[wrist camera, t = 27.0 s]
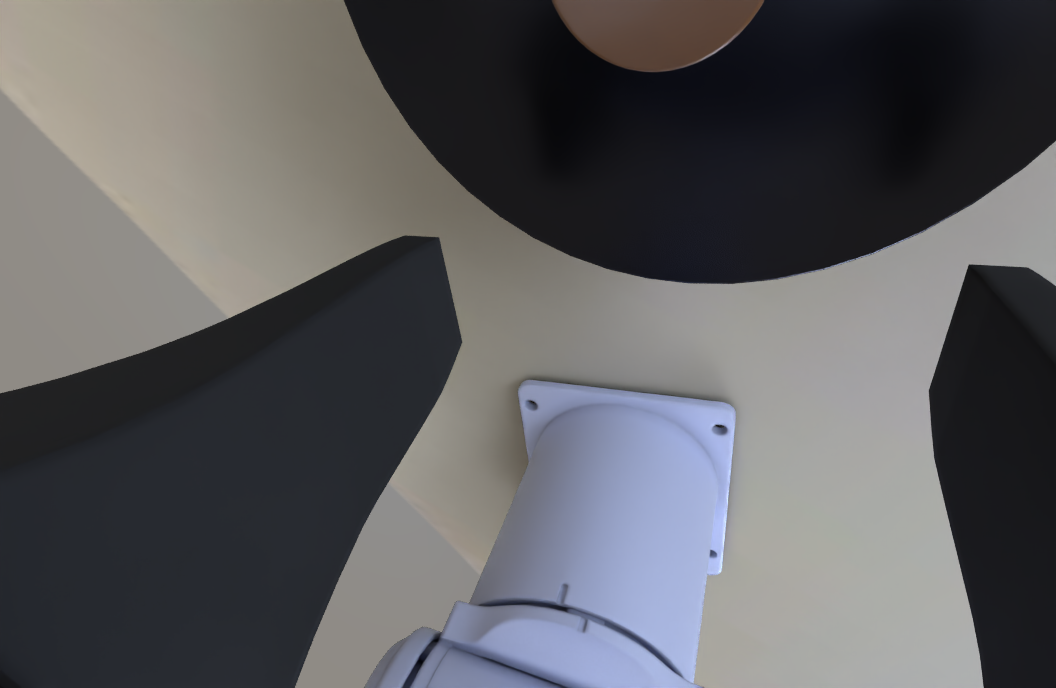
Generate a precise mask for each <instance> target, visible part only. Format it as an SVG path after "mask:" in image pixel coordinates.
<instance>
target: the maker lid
mask: <svg viewBox="0 0 1056 688" xmlns="http://www.w3.org/2000/svg"><path fill="white" fill-rule="evenodd" d="M344 2H345V5H346V7H347V9H348V12H349V14H350V17H351V19H352V22H353V24H354V27H355V29H356V32H357V34H358V37H359V39H360V42H361V44H362V46H363V48H364V50H365V52H366V54H367V56H368V58H369V60H370V62H371V64H372V66H373V67H374V69H375V71H376V73H377V75H378V77H379V79H380V81H381V83H382V85H383V86H384V88H385V90H386V92H387V93H388V95H389V96H390V98H391V99H392V101H393V102H394V104H395V105H396V107H397V108H398V110H399V111H400V113H401V114H402V116H403V117H404V119H405V120H406V122H407V123H408V125H409V126H410V128H411V129H412V130H413V132H414V133H415V134H416V135H417V136H418V138H419V139H420V140H421V141H422V143H423V144H424V145H425V146H426V147H427V149H428V150H429V151H430V152H431V154H432V155H433V156H434V157H435V158H436V160H437V161H438V162H439V163H440V164H441V165H442V166H443V167H444V168H445V169H446V170H447V171H448V172H449V173H450V174H451V175H452V176H453V177H454V178H455V179H456V180H457V181H458V182H459V183H460V184H461V185H462V186H463V187H464V188H465V189H466V190H467V191H469V192H470V193H471V194H472V195H474V196H475V197H476V198H477V199H479V200H480V201H481V202H482V203H484V204H485V205H486V206H487V207H489V208H490V209H491V210H492V211H494V212H495V213H496V214H497V215H499V216H500V217H501V218H503V219H505V220H506V221H508V222H509V223H511V224H513V225H514V226H516V227H517V228H519V229H520V230H522V231H524V232H525V233H527V234H528V235H530V236H532V237H533V238H535V239H537V240H539V241H541V242H543V243H545V244H547V245H549V246H551V247H553V248H555V249H557V250H560V251H562V252H564V253H566V254H568V255H570V256H573V257H575V258H578V259H581V260H584V261H587V262H589V263H592V264H595V265H598V266H601V267H603V268H606V269H610V270H614V271H618V272H623V273H627V274H631V275H635V276H640V277H644V278H649V279H657V280H665V281H674V282H682V283H707V284H735V283H745V282H755V281H765V280H775V279H781V278H786V277H791V276H795V275H800V274H805V273H810V272H815V271H820V270H824V269H827V268H830V267H834V266H837V265H840V264H843V263H846V262H849V261H852V260H856V259H859V258H862V257H865V256H868V255H871V254H874V253H876V252H878V251H881V250H883V249H885V248H888V247H890V246H892V245H894V244H897V243H899V242H901V241H904V240H906V239H908V238H910V237H913V236H915V235H917V234H920V233H922V232H924V231H925V230H927V229H929V228H931V227H933V226H934V225H936V224H938V223H940V222H941V221H943V220H945V219H947V218H949V217H950V216H952V215H954V214H956V213H957V212H959V211H961V210H963V209H965V208H966V207H968V206H970V205H972V204H973V203H975V202H976V201H978V200H979V199H981V198H982V197H983V196H985V195H986V194H988V193H989V192H991V191H992V190H993V189H995V188H996V187H998V186H999V185H1001V184H1002V183H1003V182H1005V181H1006V180H1008V179H1009V178H1011V177H1012V176H1013V175H1015V174H1016V173H1018V172H1019V171H1021V170H1022V169H1023V168H1025V167H1026V166H1027V165H1028V164H1029V163H1031V162H1032V161H1033V160H1034V159H1035V158H1036V157H1038V156H1039V155H1040V154H1041V153H1042V152H1043V151H1045V150H1046V149H1047V148H1048V147H1049V146H1050V145H1052V144H1053V143H1054V142H1055V141H1056V0H344Z"/></svg>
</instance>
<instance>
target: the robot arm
mask: <svg viewBox="0 0 1056 688" xmlns="http://www.w3.org/2000/svg"><path fill="white" fill-rule="evenodd" d="M461 344H462V338H461V334H460V329H459V325H458V320H457V316H456V311H455V307H454V302H453V298H452V293H451V289H450V284H449V280H448V275H447V271H446V267H445V262H444V258H443V253H442V249H441V244H440V240H439V237H421V236H402V237H399V238H397V239H394V240H391V241H389V242H386V243H384V244H381V245H379V246H377V247H375V248H373V249H371V250H368V251H366V252H364V253H362V254H360V255H358V256H356V257H354V258H352V259H350V260H348V261H346V262H344V263H342V264H340V265H338V266H336V267H334V268H332V269H330V270H328V271H326V272H324V273H322V274H320V275H318V276H316V277H314V278H312V279H310V280H308V281H306V282H304V283H302V284H300V285H298V286H296V287H294V288H292V289H290V290H288V291H286V292H284V293H282V294H280V295H278V296H276V297H274V298H271V299H269V300H267V301H265V302H263V303H261V304H259V305H256V306H254V307H252V308H250V309H248V310H246V311H244V312H242V313H239V314H237V315H235V316H233V317H231V318H229V319H226V320H224V321H222V322H220V323H217V324H215V325H213V326H210V327H208V328H205V329H203V330H200V331H198V332H196V333H193V334H191V335H188V336H185V337H183V338H180V339H177V340H175V341H172V342H169V343H167V344H164V345H162V346H159V347H156V348H153V349H151V350H148V351H145V352H142V353H139V354H136V355H133V356H130V357H127V358H124V359H120V360H117V361H114V362H111V363H107V364H104V365H101V366H98V367H95V368H91V369H88V370H85V371H82V372H79V373H75V374H72V375H69V376H66V377H62V378H59V379H55V380H51V381H47V382H44V383H40V384H36V385H32V386H28V387H24V388H21V389H17V390H13V391H8V392H4V393H0V688H295V685H296V683H297V680H298V677H299V675H300V672H301V669H302V667H303V664H304V661H305V659H306V657H307V654H308V651H309V649H310V646H311V644H312V641H313V638H314V636H315V634H316V631H317V629H318V627H319V624H320V622H321V620H322V617H323V615H324V612H325V610H326V608H327V605H328V603H329V601H330V598H331V596H332V594H333V591H334V589H335V586H336V584H337V582H338V580H339V577H340V575H341V573H342V571H343V569H344V567H345V564H346V562H347V560H348V558H349V556H350V554H351V551H352V549H353V547H354V545H355V543H356V541H357V538H358V536H359V534H360V532H361V530H362V528H363V526H364V524H365V522H366V520H367V518H368V516H369V515H370V513H371V511H372V509H373V507H374V505H375V504H376V502H377V500H378V498H379V497H380V495H381V493H382V492H383V490H384V488H385V487H386V485H387V483H388V482H389V480H390V478H391V477H392V475H393V474H394V472H395V470H396V469H397V467H398V465H399V464H400V462H401V460H402V459H403V457H404V455H405V454H406V452H407V450H408V449H409V447H410V445H411V444H412V442H413V441H414V439H415V437H416V436H417V434H418V432H419V431H420V429H421V427H422V426H423V424H424V422H425V420H426V419H427V417H428V415H429V414H430V412H431V410H432V409H433V407H434V405H435V403H436V402H437V400H438V398H439V396H440V395H441V393H442V391H443V388H444V386H445V384H446V381H447V379H448V377H449V375H450V372H451V370H452V367H453V365H454V362H455V360H456V357H457V354H458V352H459V349H460V347H461ZM518 397H519V404H520V410H521V416H522V422H523V429H524V435H525V441H526V448H527V454H528V460H529V464H528V466H527V468H526V471H525V473H524V475H523V478H522V480H521V482H520V485H519V487H518V489H517V492H516V494H515V497H514V499H513V501H512V504H511V506H510V508H509V511H508V513H507V515H506V518H505V520H504V522H503V525H502V527H501V529H500V532H499V534H498V537H497V539H496V541H495V544H494V546H493V548H492V551H491V553H490V555H489V558H488V560H487V562H486V565H485V567H484V569H483V572H482V574H481V577H480V579H479V581H478V584H477V586H476V588H475V591H474V593H473V596H472V598H471V600H470V603H466V602H462V601H456V602H455V604H454V606H453V609H452V611H451V613H450V615H449V618H448V620H447V622H446V624H445V627H444V629H443V631H442V632H439V631H436V630H434V629H431V628H428V627H421V628H419V629H417V630H415V631H414V632H413V633H412V634H411V635H410V636H408V637H406V638H404V639H402V640H401V641H399V642H397V643H396V644H394V645H393V646H392V647H391V648H390V649H389V650H388V651H387V653H386V654H385V655H384V656H383V658H382V659H381V660H380V662H379V664H378V665H377V666H376V668H375V670H374V671H373V673H372V674H371V676H370V678H369V680H368V682H367V683H366V685H365V687H364V688H704V687H701V686H699V685H696V684H694V675H695V667H696V659H697V651H698V643H699V635H700V627H701V619H702V611H703V603H704V595H705V587H706V579H707V575H717V574H719V573H720V572H721V570H722V561H723V550H724V540H725V529H726V518H727V507H728V496H729V485H730V474H731V463H732V452H733V441H734V430H735V420H736V412H735V409H734V408H733V407H732V406H731V405H729V404H728V403H724V402H718V401H709V400H701V399H692V398H684V397H675V396H666V395H658V394H649V393H641V392H632V391H623V390H615V389H606V388H598V387H589V386H581V385H572V384H563V383H555V382H546V381H538V380H525V381H523V382H522V384H521V385H520V387H519V389H518ZM929 399H930V414H931V428H932V439H933V449H934V459H935V463H936V467H937V472H938V476H939V481H940V485H941V489H942V493H943V498H944V502H945V506H946V510H947V514H948V519H949V523H950V527H951V531H952V535H953V539H954V543H955V547H956V551H957V555H958V559H959V564H960V568H961V572H962V576H963V580H964V584H965V588H966V592H967V596H968V600H969V604H970V609H971V613H972V617H973V622H974V627H975V632H976V638H977V643H978V648H979V653H980V660H981V668H982V677H983V685H984V688H1056V286H1055V285H1053V284H1052V283H1051V282H1049V281H1048V280H1046V279H1045V278H1043V277H1042V276H1041V275H1039V274H1037V273H1036V272H1034V271H1033V270H1031V269H1029V268H1027V267H1007V266H988V265H969V266H968V269H967V272H966V275H965V279H964V282H963V285H962V288H961V291H960V294H959V297H958V301H957V304H956V307H955V310H954V313H953V316H952V320H951V323H950V326H949V329H948V332H947V335H946V338H945V342H944V345H943V348H942V351H941V354H940V357H939V361H938V364H937V367H936V370H935V373H934V376H933V379H932V383H931V386H930V389H929ZM529 400H531V401H534V402H535V403H536V404H533V403H531V402H530V401H529ZM716 424H721V425H724V426H725V427H724V428H719V427H716V426H715V425H716Z"/></svg>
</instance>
